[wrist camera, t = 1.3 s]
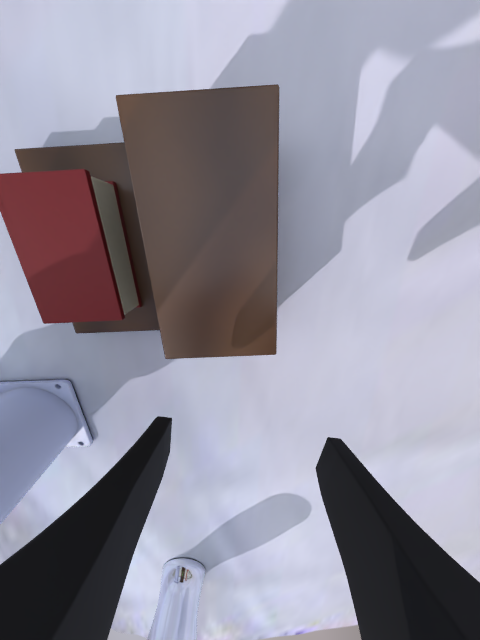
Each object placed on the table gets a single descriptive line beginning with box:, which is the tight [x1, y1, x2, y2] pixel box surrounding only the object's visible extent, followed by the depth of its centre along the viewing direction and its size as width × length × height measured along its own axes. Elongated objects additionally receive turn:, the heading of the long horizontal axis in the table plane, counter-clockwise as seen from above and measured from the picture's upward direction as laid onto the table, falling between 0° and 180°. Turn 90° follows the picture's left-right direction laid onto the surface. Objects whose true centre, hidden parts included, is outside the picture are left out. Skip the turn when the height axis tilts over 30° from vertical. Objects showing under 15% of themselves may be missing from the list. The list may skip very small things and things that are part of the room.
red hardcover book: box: [0, 169, 142, 324], centre depth 14 cm, size 5×8×3 cm, turn 3°
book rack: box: [15, 85, 279, 359], centre depth 14 cm, size 15×12×6 cm
